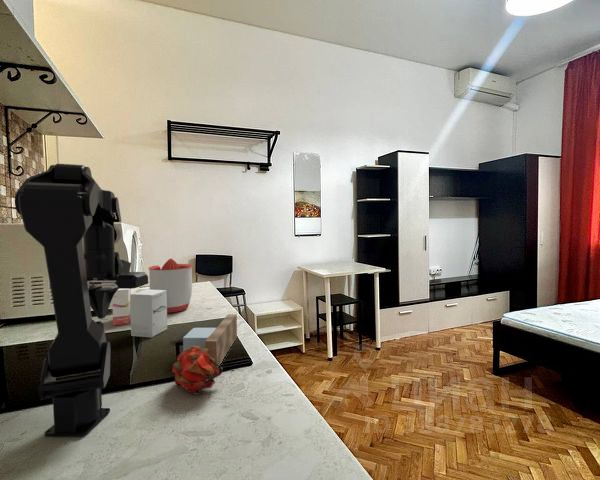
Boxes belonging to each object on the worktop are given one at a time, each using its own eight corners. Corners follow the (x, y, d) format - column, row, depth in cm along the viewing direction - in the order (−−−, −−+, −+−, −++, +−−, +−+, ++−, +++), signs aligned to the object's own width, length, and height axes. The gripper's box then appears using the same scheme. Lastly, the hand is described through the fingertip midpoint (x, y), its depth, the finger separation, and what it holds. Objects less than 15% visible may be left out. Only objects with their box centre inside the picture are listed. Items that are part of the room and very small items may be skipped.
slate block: (212, 362, 72) (212, 337, 72) (183, 362, 72) (183, 337, 72) (220, 350, 79) (220, 327, 79) (194, 350, 79) (193, 327, 79)
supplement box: (152, 338, 87) (151, 295, 87) (130, 336, 89) (128, 294, 88) (168, 329, 95) (167, 289, 94) (147, 327, 96) (146, 288, 96)
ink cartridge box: (130, 323, 100) (128, 280, 99) (112, 326, 98) (111, 281, 97) (132, 316, 108) (130, 276, 107) (116, 318, 106) (114, 277, 105)
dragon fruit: (185, 381, 66) (213, 412, 58) (153, 370, 61) (179, 403, 52) (208, 345, 69) (237, 370, 60) (179, 332, 63) (207, 358, 55)
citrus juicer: (183, 301, 129) (182, 255, 128) (199, 310, 116) (198, 258, 115) (143, 308, 119) (142, 257, 118) (156, 318, 106) (154, 261, 105)
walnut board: (216, 372, 67) (216, 341, 67) (205, 372, 67) (205, 341, 67) (237, 338, 87) (236, 314, 87) (228, 338, 87) (228, 314, 87)
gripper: (158, 246, 74) (160, 308, 75) (84, 246, 75) (86, 308, 75) (133, 249, 63) (135, 322, 64) (45, 250, 63) (49, 322, 64)
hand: (102, 318), depth 67 cm, fingers closed
